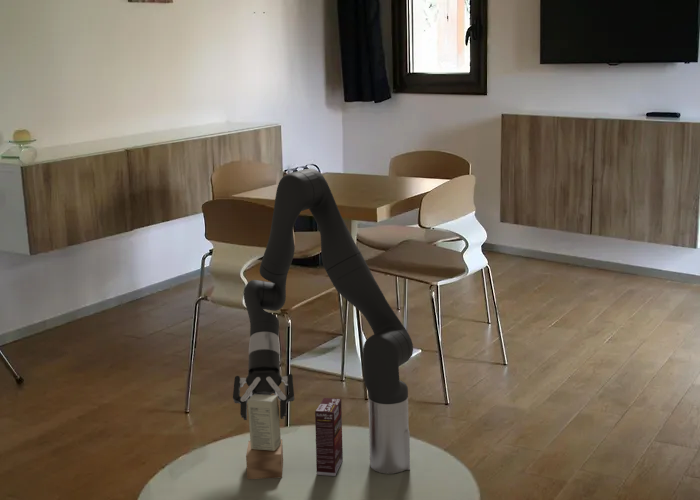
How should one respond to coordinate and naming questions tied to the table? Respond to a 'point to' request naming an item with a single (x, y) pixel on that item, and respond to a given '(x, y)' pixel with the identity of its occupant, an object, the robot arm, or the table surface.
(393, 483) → the table surface
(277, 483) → the table surface
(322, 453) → the supplement box
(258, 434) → the skincare box
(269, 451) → the brown wooden block
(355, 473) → the table surface
